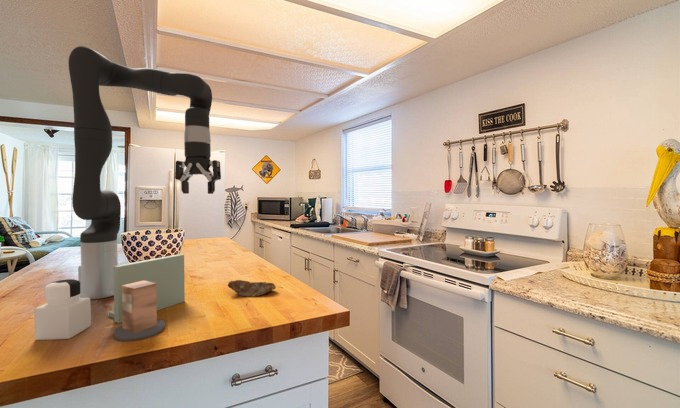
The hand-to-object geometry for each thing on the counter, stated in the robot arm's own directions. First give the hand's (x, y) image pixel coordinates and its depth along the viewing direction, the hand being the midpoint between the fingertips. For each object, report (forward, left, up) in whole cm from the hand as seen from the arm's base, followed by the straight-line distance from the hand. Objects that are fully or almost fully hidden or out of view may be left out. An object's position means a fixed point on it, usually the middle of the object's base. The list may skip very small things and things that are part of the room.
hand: (198, 193), depth 101 cm
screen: (-6, -15, -32) cm, 36 cm away
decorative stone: (+16, +4, -33) cm, 37 cm away
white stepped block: (-14, -31, -32) cm, 47 cm away
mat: (+2, -27, -32) cm, 42 cm away
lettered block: (+2, -27, -31) cm, 42 cm away
